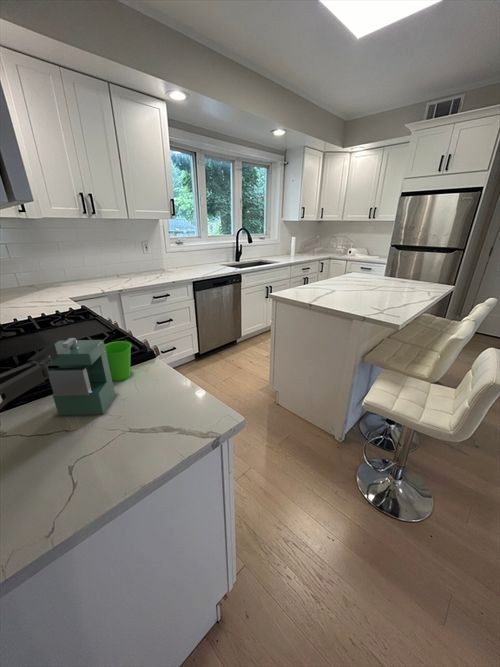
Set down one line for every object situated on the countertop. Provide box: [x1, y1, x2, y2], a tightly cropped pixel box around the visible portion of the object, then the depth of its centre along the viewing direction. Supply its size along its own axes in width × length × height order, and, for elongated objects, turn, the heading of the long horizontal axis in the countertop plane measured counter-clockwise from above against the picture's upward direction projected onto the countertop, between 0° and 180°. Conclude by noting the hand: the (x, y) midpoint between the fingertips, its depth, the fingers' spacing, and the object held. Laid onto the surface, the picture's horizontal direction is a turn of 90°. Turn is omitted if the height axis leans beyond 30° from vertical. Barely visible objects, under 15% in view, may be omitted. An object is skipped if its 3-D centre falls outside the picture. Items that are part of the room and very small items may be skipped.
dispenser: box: [48, 337, 116, 416], centre depth 71 cm, size 11×8×20 cm
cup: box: [104, 340, 133, 382], centre depth 86 cm, size 9×9×11 cm
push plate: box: [48, 367, 92, 396], centre depth 66 cm, size 8×2×7 cm, turn 94°
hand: (25, 351), depth 52 cm, fingers open, 10 cm apart
